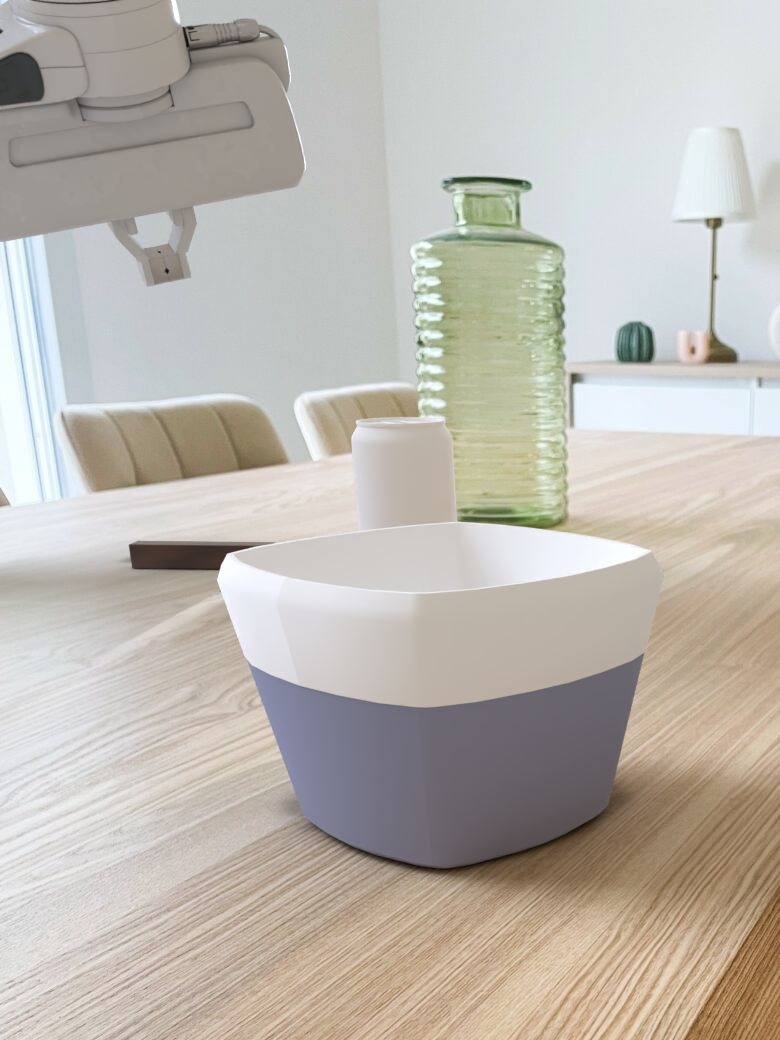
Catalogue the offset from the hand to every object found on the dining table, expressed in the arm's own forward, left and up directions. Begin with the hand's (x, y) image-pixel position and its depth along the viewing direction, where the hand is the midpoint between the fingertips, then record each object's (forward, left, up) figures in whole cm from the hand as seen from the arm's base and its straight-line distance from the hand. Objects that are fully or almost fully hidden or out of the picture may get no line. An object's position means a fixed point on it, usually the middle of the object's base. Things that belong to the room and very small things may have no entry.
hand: (166, 279), depth 85 cm
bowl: (+25, -40, -22) cm, 52 cm away
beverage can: (+11, +18, -22) cm, 30 cm away
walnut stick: (-7, +18, -22) cm, 29 cm away
